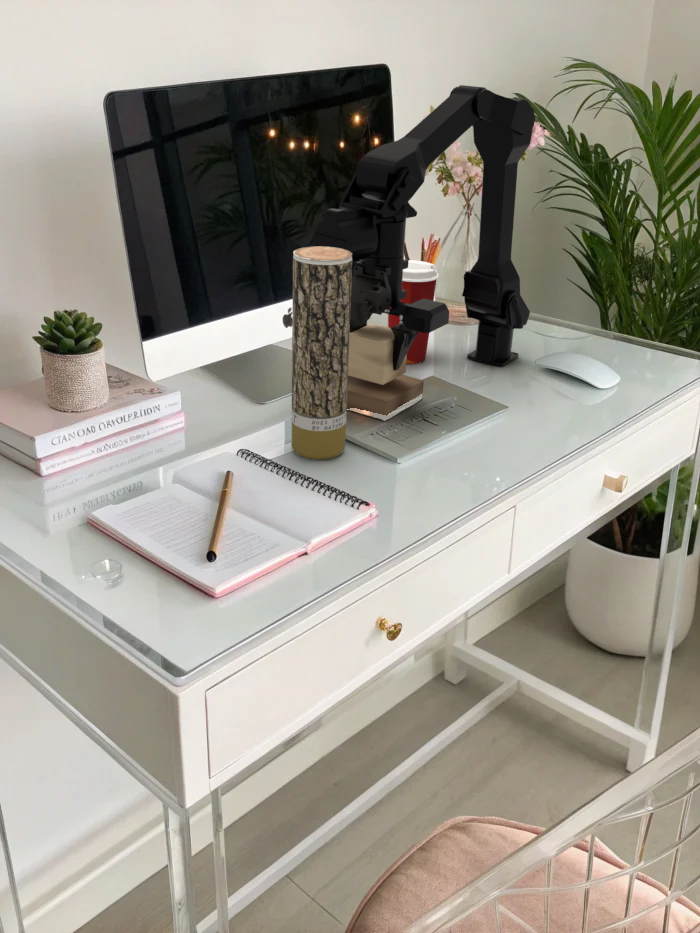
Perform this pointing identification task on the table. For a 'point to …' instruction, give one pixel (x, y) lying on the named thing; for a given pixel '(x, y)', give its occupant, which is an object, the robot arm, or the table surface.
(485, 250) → the robot arm
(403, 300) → the coffee cup
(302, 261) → the paper tube
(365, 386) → the walnut base
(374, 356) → the oak cube
